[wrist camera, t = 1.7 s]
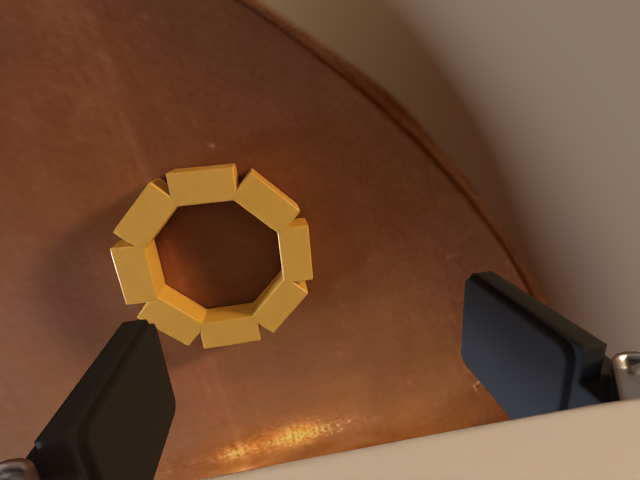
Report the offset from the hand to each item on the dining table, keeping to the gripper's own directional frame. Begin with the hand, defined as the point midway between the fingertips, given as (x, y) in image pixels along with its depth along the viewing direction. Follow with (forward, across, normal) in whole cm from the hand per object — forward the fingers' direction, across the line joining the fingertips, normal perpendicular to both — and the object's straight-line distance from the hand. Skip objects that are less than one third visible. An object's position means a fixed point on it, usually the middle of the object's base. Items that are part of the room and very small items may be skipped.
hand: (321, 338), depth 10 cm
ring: (+7, +4, 0) cm, 8 cm away
